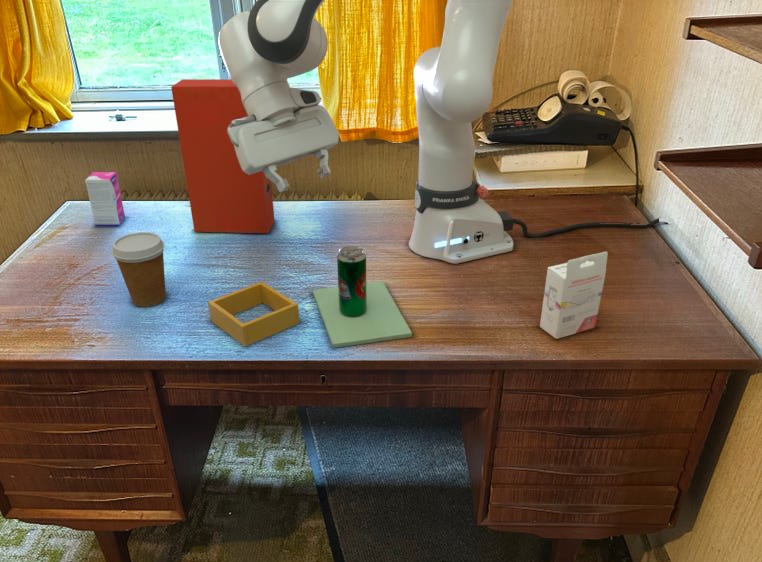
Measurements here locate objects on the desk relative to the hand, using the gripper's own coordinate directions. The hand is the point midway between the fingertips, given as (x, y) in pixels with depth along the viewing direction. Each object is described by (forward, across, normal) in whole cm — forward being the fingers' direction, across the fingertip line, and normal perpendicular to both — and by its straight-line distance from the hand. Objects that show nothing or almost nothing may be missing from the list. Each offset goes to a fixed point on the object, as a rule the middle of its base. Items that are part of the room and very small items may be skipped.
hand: (306, 183), depth 121 cm
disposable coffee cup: (+6, -26, +27) cm, 38 cm away
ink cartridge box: (+42, +22, -23) cm, 53 cm away
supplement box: (-17, -14, +61) cm, 65 cm away
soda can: (+24, -2, +1) cm, 25 cm away
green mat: (+25, -1, +1) cm, 25 cm away
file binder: (-3, +6, +42) cm, 43 cm away
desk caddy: (+19, -16, +10) cm, 27 cm away
